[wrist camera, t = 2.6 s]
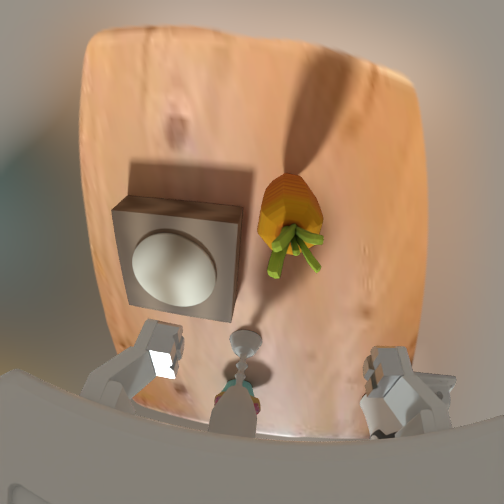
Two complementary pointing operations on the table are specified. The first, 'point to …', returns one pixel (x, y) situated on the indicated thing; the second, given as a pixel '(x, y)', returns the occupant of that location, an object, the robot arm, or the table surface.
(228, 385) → the cupcake
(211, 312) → the walnut plinth
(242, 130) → the table surface
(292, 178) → the carrot
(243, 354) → the chalice
